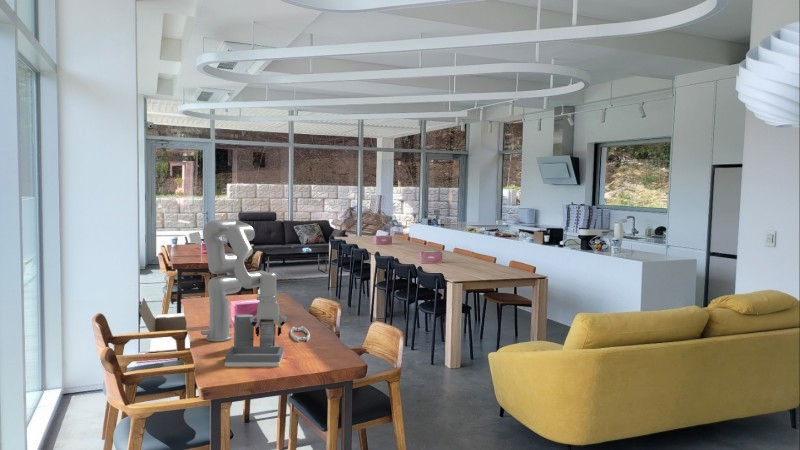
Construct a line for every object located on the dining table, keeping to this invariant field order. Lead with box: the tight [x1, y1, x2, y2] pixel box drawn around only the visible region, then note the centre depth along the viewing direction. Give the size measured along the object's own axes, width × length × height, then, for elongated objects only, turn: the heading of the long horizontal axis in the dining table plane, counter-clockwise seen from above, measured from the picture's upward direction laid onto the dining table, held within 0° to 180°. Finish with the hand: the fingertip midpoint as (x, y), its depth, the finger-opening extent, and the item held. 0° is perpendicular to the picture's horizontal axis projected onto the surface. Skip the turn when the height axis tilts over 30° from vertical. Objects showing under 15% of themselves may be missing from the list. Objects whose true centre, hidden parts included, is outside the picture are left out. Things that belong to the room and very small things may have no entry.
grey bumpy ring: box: [289, 325, 311, 343], centre depth 294 cm, size 3×10×25 cm
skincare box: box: [233, 313, 255, 346], centre depth 269 cm, size 8×7×16 cm
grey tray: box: [224, 345, 284, 368], centre depth 250 cm, size 23×16×4 cm
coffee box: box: [259, 319, 277, 346], centre depth 264 cm, size 9×6×16 cm
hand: (268, 335), depth 264 cm, fingers open, 9 cm apart
